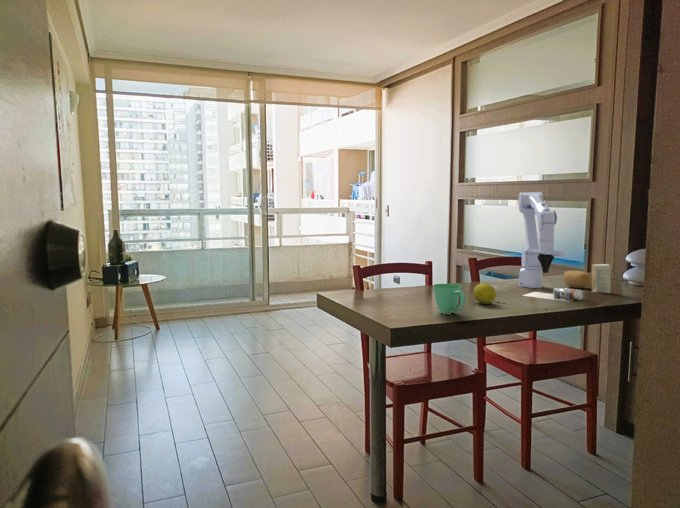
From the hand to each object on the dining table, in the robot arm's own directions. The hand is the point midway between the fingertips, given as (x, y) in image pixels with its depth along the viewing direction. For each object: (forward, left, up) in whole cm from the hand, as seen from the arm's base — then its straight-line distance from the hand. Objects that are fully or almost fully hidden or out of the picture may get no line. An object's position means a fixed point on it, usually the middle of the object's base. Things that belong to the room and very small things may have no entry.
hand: (545, 272), depth 209 cm
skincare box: (+15, +19, -10) cm, 26 cm away
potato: (+3, +24, -10) cm, 26 cm away
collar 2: (+13, -5, -10) cm, 17 cm away
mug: (-9, -55, -10) cm, 56 cm away
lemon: (-10, -31, -10) cm, 34 cm away
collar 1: (+9, -5, -10) cm, 14 cm away
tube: (+11, -5, -9) cm, 15 cm away
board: (+5, -5, -10) cm, 12 cm away
